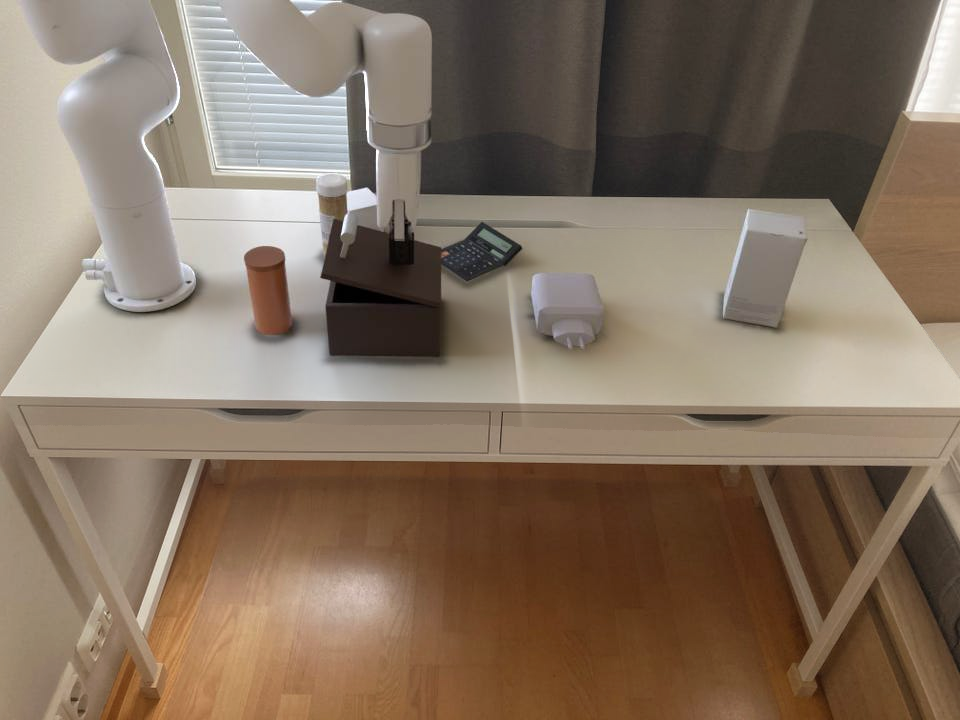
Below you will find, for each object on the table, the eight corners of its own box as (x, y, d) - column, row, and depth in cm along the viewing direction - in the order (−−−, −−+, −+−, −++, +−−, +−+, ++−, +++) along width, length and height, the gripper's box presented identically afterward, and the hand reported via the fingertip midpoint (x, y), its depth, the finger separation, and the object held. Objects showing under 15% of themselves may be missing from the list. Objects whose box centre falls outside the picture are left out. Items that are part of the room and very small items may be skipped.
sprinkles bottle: (356, 259, 126) (352, 181, 118) (329, 266, 124) (323, 188, 115) (343, 246, 129) (338, 169, 120) (317, 253, 127) (310, 175, 118)
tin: (252, 339, 109) (240, 266, 102) (259, 316, 113) (247, 245, 106) (290, 340, 109) (281, 267, 102) (295, 317, 113) (287, 246, 106)
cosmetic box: (776, 306, 122) (808, 216, 112) (777, 331, 117) (810, 239, 107) (721, 295, 123) (748, 205, 114) (719, 319, 119) (747, 227, 109)
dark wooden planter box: (329, 359, 107) (325, 306, 101) (339, 300, 117) (336, 249, 112) (439, 361, 108) (440, 308, 102) (439, 303, 118) (440, 252, 112)
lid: (320, 278, 98) (327, 246, 96) (331, 223, 109) (339, 192, 106) (439, 308, 102) (450, 278, 99) (439, 251, 112) (449, 223, 110)
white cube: (335, 227, 133) (333, 194, 130) (368, 219, 136) (367, 187, 132) (350, 243, 130) (348, 210, 126) (384, 235, 132) (383, 202, 128)
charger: (540, 361, 109) (530, 298, 120) (607, 362, 109) (590, 299, 121) (544, 334, 106) (533, 272, 117) (613, 335, 106) (595, 273, 118)
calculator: (428, 258, 127) (428, 242, 125) (482, 236, 134) (483, 220, 132) (466, 285, 122) (467, 268, 120) (521, 260, 128) (522, 244, 126)
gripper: (371, 103, 99) (377, 232, 111) (362, 155, 88) (369, 293, 99) (432, 105, 100) (431, 233, 111) (430, 157, 88) (429, 294, 100)
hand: (401, 261), depth 105 cm, fingers closed
